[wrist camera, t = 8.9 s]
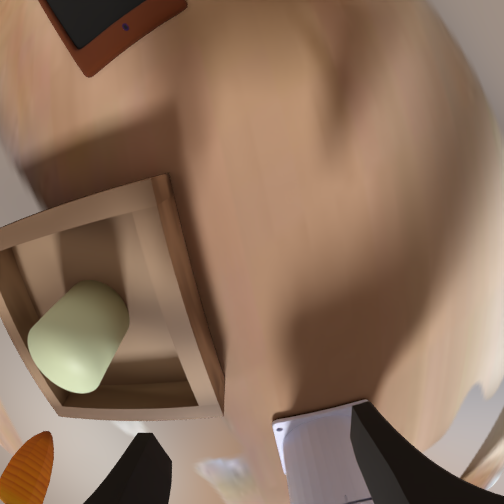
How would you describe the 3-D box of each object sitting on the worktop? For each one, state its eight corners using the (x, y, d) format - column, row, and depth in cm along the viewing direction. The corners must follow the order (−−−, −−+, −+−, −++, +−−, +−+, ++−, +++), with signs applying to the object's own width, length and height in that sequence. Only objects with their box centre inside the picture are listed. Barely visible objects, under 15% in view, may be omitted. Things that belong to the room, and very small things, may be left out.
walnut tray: (225, 379, 20) (223, 416, 16) (74, 388, 20) (59, 416, 17) (168, 172, 15) (150, 178, 12) (3, 226, 16) (-28, 240, 12)
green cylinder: (139, 339, 17) (115, 393, 13) (83, 344, 17) (52, 392, 13) (115, 274, 16) (77, 318, 11) (58, 285, 16) (15, 324, 11)
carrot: (23, 418, 22) (-27, 514, 8) (44, 414, 21) (-10, 525, 7) (53, 447, 23) (14, 542, 9) (77, 444, 23) (37, 554, 9)
